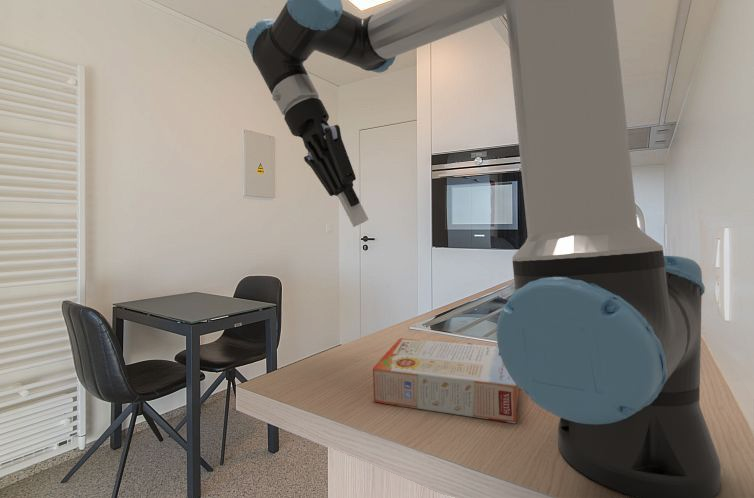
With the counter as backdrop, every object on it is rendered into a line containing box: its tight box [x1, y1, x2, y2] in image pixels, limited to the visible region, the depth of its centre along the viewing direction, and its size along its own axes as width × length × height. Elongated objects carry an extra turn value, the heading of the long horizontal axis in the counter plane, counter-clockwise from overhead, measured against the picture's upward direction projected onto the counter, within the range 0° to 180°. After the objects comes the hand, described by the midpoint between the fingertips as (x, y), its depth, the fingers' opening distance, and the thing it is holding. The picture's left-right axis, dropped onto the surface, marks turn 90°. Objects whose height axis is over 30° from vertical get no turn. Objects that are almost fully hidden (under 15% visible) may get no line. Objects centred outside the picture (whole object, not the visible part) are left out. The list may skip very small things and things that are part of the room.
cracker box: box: [372, 337, 520, 424], centre depth 63 cm, size 14×6×21 cm
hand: (361, 223), depth 72 cm, fingers closed
